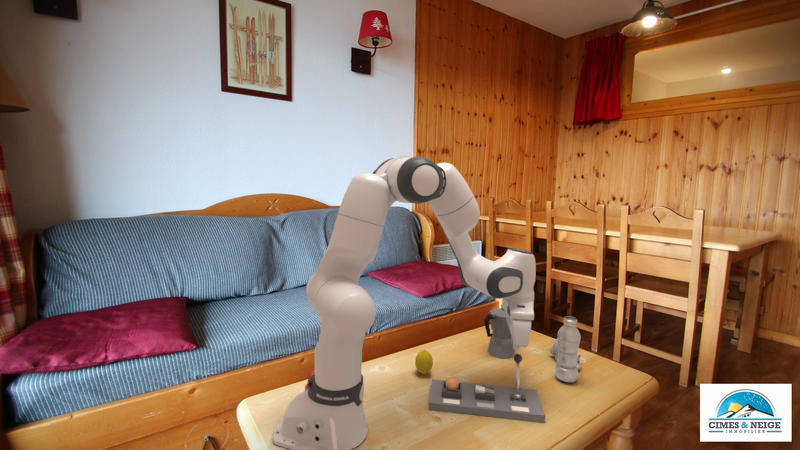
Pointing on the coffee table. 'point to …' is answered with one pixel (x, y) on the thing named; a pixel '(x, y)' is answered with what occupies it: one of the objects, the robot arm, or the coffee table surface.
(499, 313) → the coffeepot
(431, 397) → the control panel
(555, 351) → the round bodied animal figurine
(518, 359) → the toggle lever
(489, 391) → the rocker switch
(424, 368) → the lemon
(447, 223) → the robot arm
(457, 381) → the push button
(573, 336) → the plastic bottle
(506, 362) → the coffee table surface
